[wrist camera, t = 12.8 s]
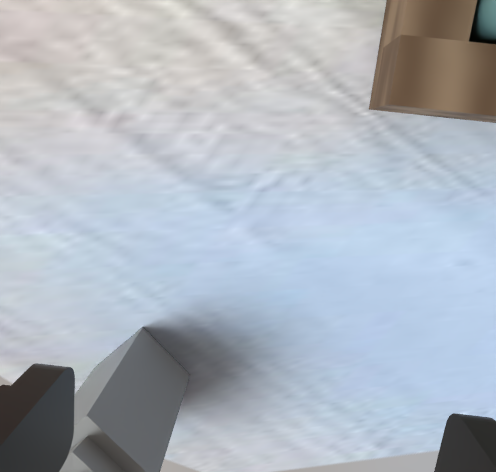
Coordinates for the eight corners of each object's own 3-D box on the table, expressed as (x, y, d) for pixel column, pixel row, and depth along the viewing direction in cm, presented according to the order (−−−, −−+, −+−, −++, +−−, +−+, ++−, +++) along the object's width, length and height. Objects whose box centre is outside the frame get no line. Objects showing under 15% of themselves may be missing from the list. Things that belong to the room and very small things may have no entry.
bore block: (583, -62, 33) (652, -104, 27) (535, 127, 36) (587, 125, 30) (399, -80, 33) (428, -126, 27) (368, 109, 36) (388, 104, 30)
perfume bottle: (190, 374, 43) (137, 541, 25) (141, 413, 44) (60, 597, 26) (142, 326, 42) (54, 466, 24) (94, 367, 43) (-23, 527, 25)
